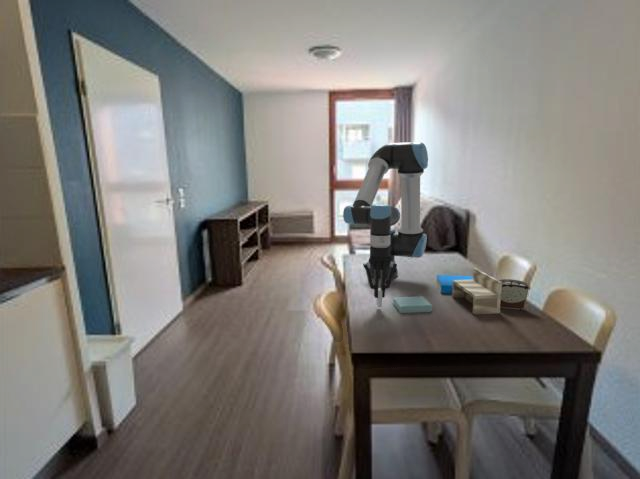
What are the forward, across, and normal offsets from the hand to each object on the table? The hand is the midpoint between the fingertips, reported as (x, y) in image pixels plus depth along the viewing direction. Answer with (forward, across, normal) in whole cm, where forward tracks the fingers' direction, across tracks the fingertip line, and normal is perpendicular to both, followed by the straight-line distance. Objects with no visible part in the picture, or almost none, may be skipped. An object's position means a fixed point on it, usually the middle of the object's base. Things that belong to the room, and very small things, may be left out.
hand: (379, 305), depth 148 cm
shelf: (+1, +38, 0) cm, 38 cm away
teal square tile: (+2, +13, 0) cm, 13 cm away
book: (+2, +45, +20) cm, 49 cm away
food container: (+2, +51, -3) cm, 51 cm away
